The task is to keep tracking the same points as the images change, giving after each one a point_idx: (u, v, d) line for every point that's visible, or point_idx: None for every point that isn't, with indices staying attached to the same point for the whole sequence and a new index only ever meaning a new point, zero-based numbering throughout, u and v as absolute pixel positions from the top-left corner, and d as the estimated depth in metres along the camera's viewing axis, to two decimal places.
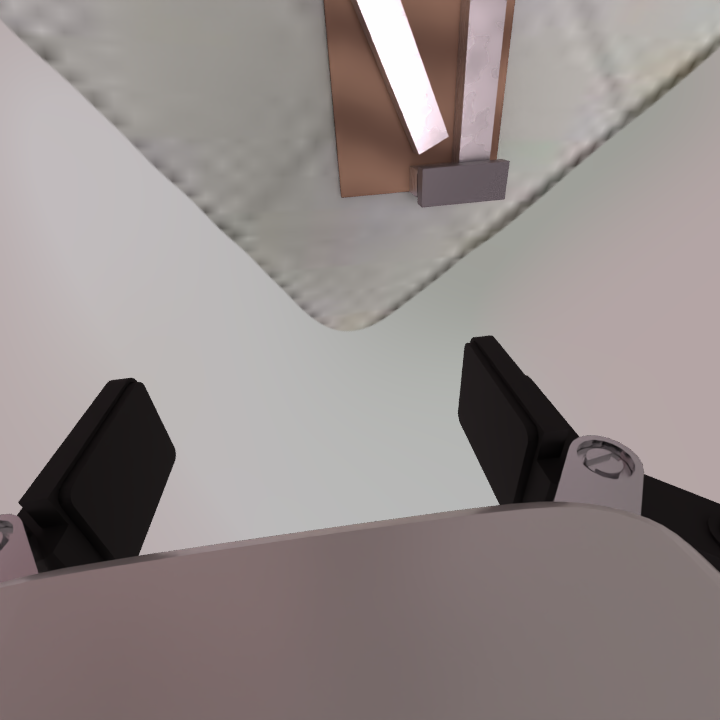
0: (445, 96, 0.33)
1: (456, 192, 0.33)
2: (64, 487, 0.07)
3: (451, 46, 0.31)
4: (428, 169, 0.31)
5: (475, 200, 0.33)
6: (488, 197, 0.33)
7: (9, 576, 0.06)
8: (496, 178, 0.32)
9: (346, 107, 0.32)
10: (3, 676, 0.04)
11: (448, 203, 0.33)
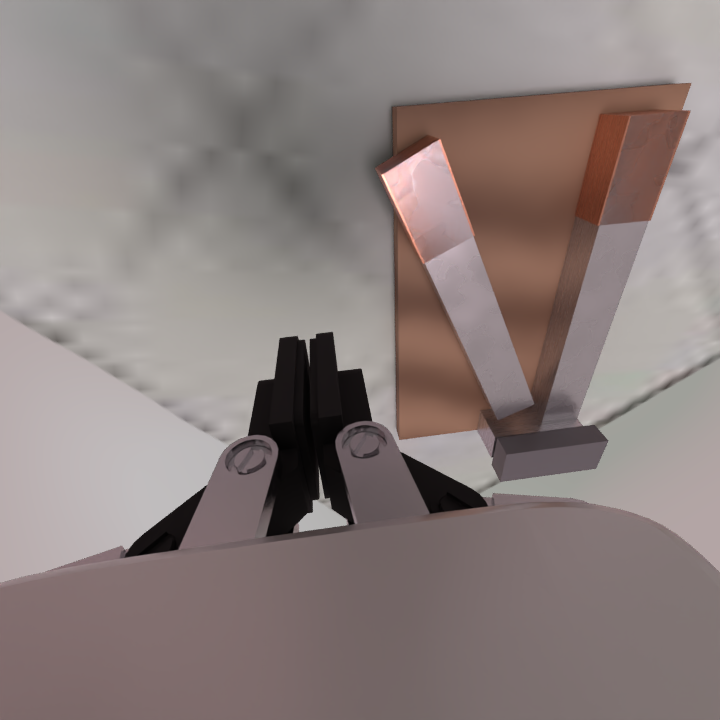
0: (530, 352, 0.28)
1: (542, 468, 0.28)
2: (295, 415, 0.08)
3: (543, 311, 0.26)
4: (513, 454, 0.26)
5: (562, 472, 0.28)
6: (578, 468, 0.28)
7: (246, 502, 0.07)
8: (590, 454, 0.27)
9: (413, 368, 0.27)
10: (3, 676, 0.04)
11: (531, 476, 0.28)
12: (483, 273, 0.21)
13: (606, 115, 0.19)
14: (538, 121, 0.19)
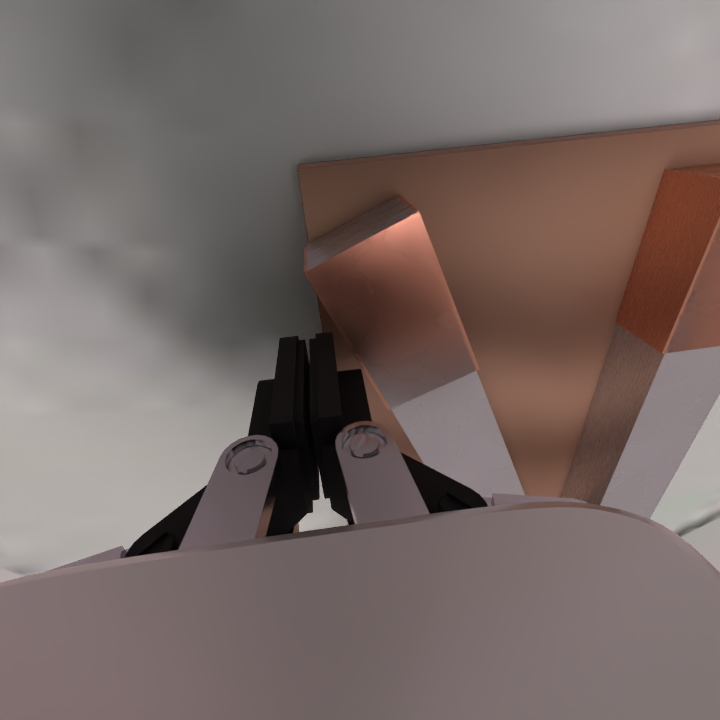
0: (545, 493, 0.19)
1: None
2: (295, 415, 0.08)
3: (565, 446, 0.17)
4: None
5: None
6: None
7: (246, 502, 0.07)
8: None
9: None
10: (3, 676, 0.04)
11: None
12: (491, 422, 0.12)
13: (679, 173, 0.11)
14: (556, 184, 0.11)
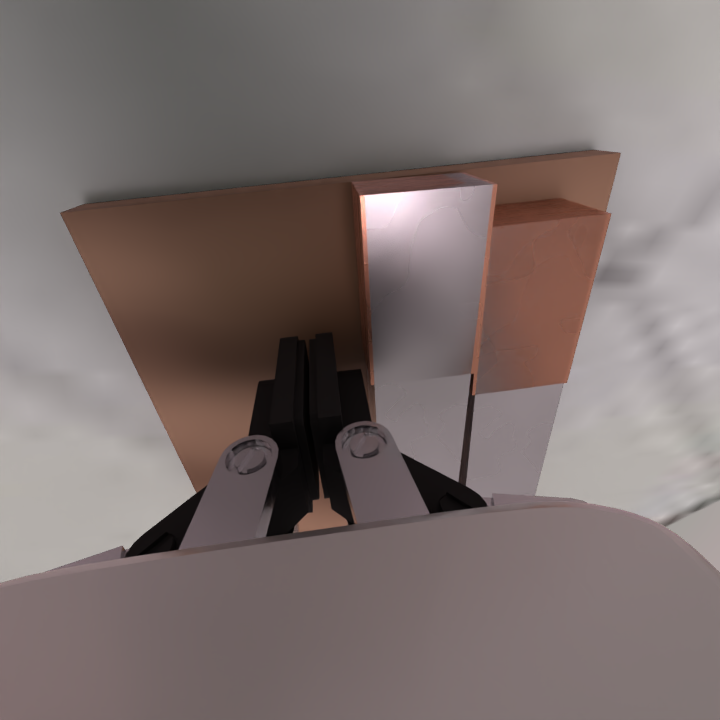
0: None
1: None
2: (296, 415, 0.08)
3: None
4: None
5: None
6: None
7: (246, 502, 0.07)
8: None
9: None
10: (3, 676, 0.04)
11: None
12: (459, 433, 0.12)
13: None
14: (345, 225, 0.11)
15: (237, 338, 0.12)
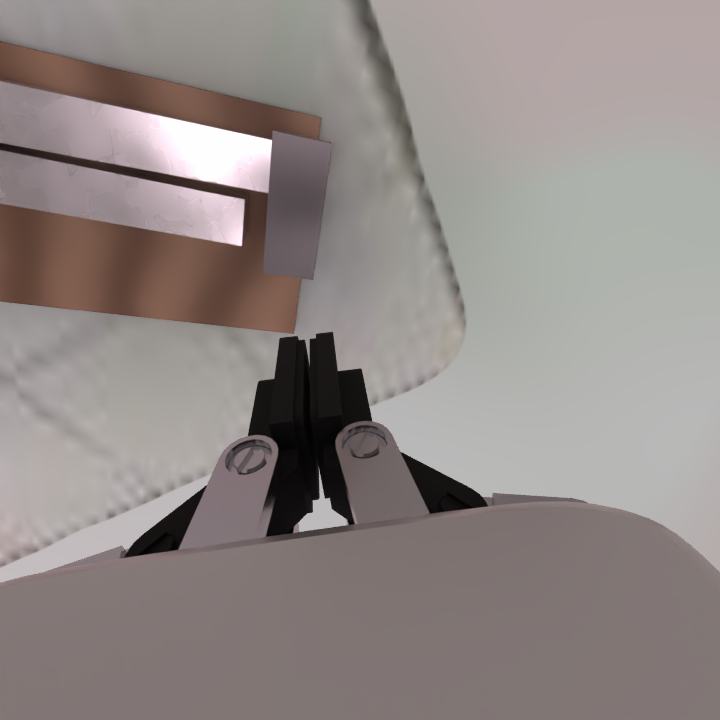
0: None
1: (303, 227, 0.22)
2: (295, 415, 0.08)
3: None
4: (264, 264, 0.22)
5: (322, 197, 0.21)
6: (322, 174, 0.20)
7: (246, 502, 0.07)
8: (295, 156, 0.20)
9: (199, 310, 0.29)
10: (3, 676, 0.04)
11: (316, 241, 0.22)
12: (14, 156, 0.20)
13: None
14: None
15: (9, 255, 0.25)
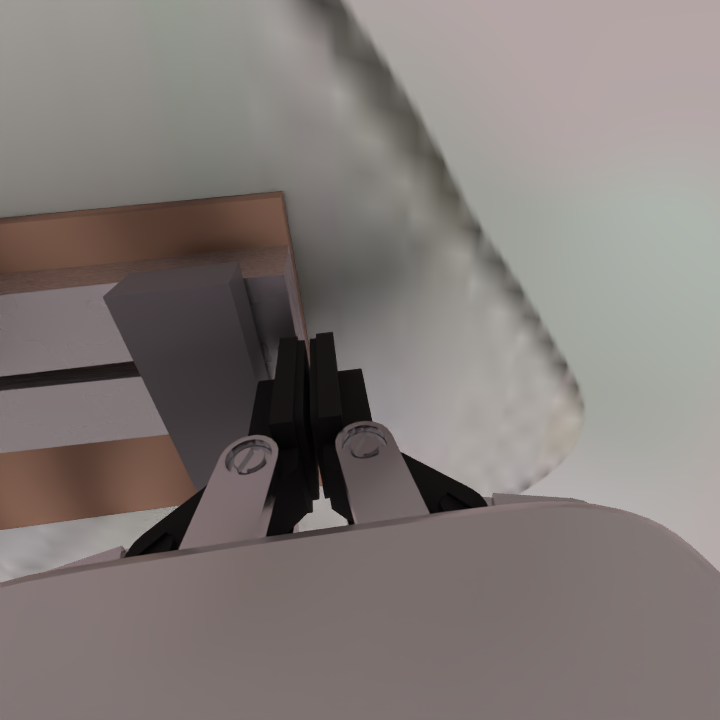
0: None
1: (235, 421, 0.12)
2: (295, 415, 0.08)
3: None
4: (195, 483, 0.13)
5: (248, 371, 0.11)
6: (232, 337, 0.10)
7: (246, 502, 0.07)
8: (167, 325, 0.10)
9: (194, 490, 0.20)
10: (3, 676, 0.04)
11: None
12: None
13: None
14: None
15: None
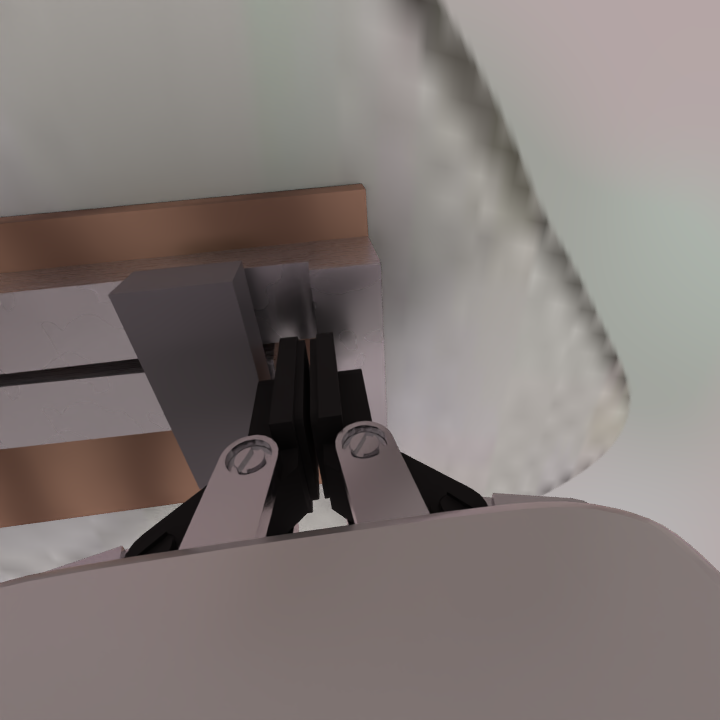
0: None
1: (237, 418, 0.12)
2: (295, 415, 0.08)
3: None
4: (197, 479, 0.13)
5: (250, 368, 0.11)
6: (235, 334, 0.10)
7: (246, 502, 0.07)
8: (171, 322, 0.10)
9: None
10: (3, 676, 0.04)
11: None
12: None
13: None
14: None
15: None
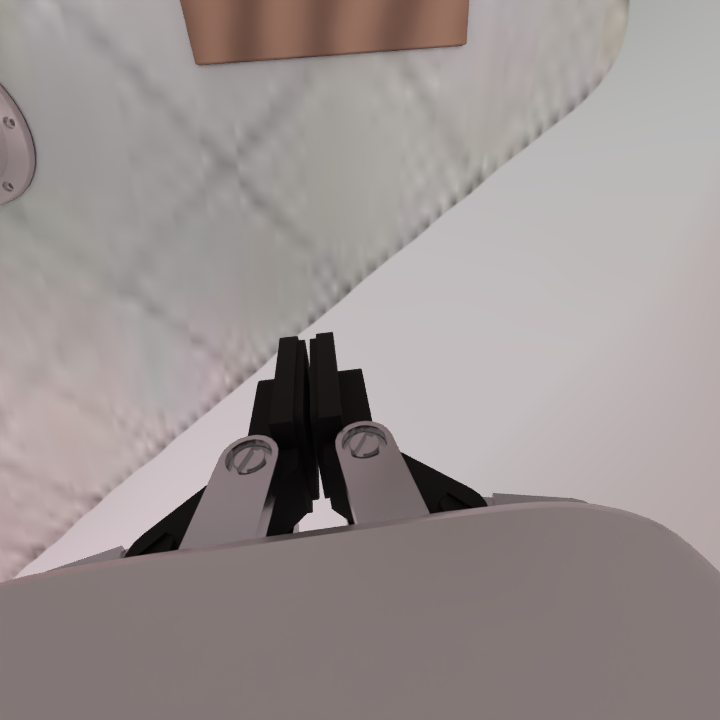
0: None
1: None
2: (296, 415, 0.08)
3: None
4: None
5: None
6: None
7: (246, 502, 0.07)
8: None
9: (383, 33, 0.32)
10: (3, 676, 0.04)
11: None
12: None
13: None
14: None
15: (236, 4, 0.30)
